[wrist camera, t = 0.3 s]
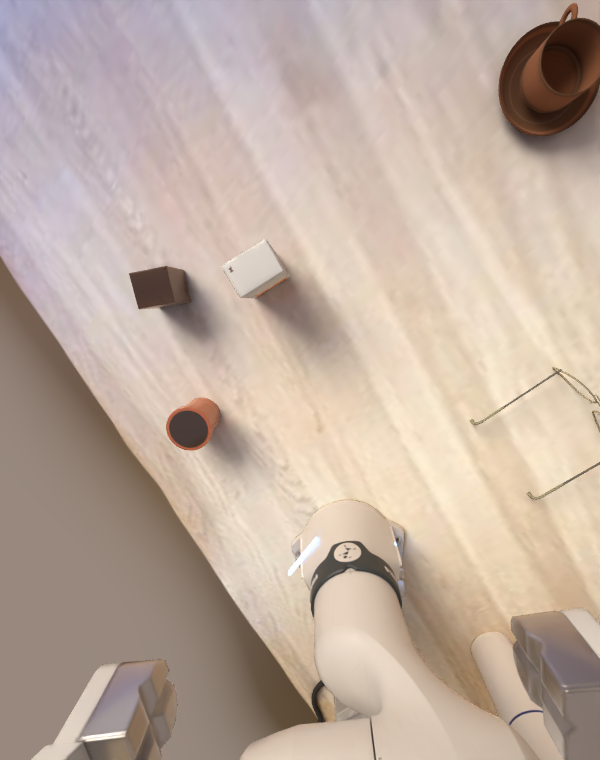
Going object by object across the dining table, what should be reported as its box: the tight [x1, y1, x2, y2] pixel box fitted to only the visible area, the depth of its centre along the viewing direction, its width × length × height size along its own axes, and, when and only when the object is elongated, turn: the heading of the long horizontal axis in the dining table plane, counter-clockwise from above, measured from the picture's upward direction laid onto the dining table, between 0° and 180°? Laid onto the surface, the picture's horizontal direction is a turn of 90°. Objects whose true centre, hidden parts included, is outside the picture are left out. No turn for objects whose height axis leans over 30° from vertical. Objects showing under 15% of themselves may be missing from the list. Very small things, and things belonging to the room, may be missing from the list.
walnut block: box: [129, 266, 191, 309], centre depth 50 cm, size 5×5×6 cm
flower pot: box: [166, 398, 220, 450], centre depth 54 cm, size 6×6×7 cm
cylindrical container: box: [471, 632, 563, 760], centre depth 53 cm, size 7×7×25 cm
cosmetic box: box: [221, 239, 289, 298], centre depth 46 cm, size 6×4×12 cm
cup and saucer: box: [499, 3, 600, 136], centre depth 43 cm, size 12×12×6 cm
